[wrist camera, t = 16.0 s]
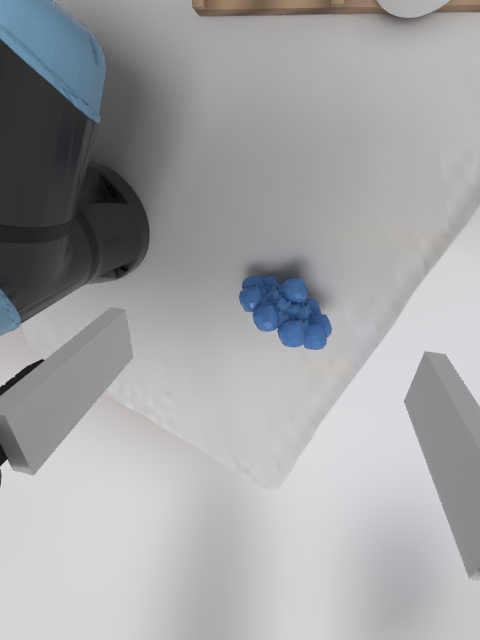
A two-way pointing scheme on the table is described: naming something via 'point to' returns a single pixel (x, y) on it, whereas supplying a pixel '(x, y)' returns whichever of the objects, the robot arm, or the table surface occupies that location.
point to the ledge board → (309, 7)
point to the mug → (411, 7)
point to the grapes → (285, 311)
